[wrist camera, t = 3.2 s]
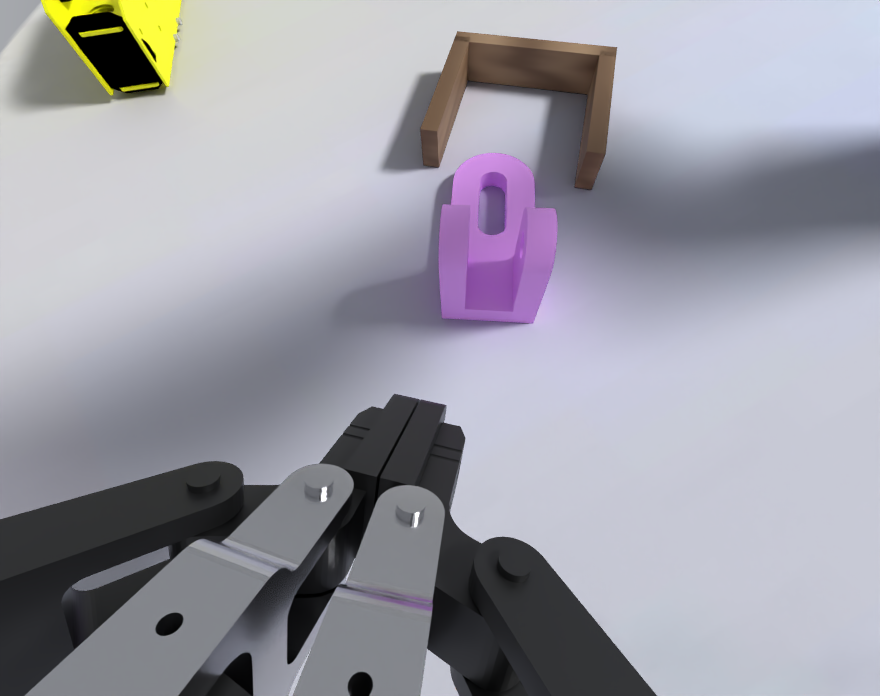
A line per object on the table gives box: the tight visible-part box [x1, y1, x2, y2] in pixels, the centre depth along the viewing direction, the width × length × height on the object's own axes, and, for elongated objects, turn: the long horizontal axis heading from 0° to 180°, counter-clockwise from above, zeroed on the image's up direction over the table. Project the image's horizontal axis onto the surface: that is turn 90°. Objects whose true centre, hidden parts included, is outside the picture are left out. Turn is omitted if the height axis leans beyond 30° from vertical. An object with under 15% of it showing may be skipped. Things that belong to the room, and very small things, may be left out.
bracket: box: [439, 153, 557, 323], centre depth 25 cm, size 13×6×7 cm, turn 175°
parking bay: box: [420, 31, 617, 190], centre depth 31 cm, size 12×12×3 cm
